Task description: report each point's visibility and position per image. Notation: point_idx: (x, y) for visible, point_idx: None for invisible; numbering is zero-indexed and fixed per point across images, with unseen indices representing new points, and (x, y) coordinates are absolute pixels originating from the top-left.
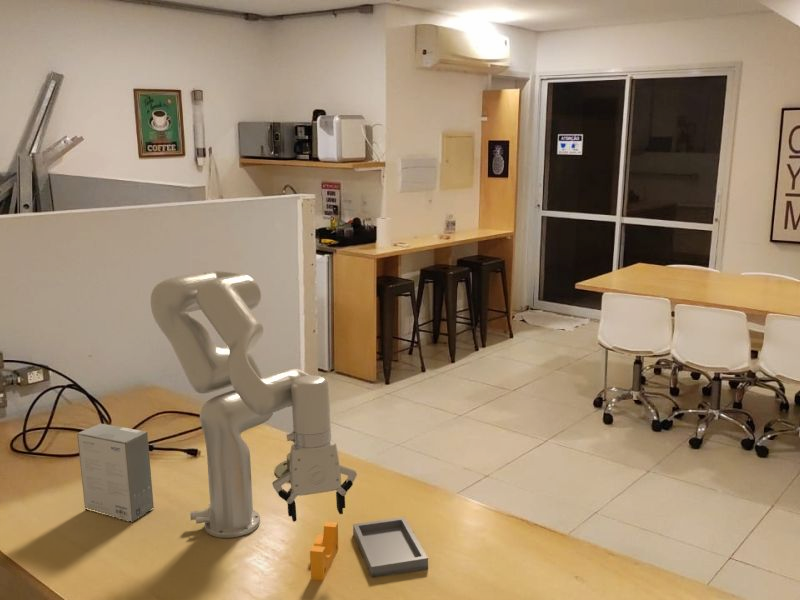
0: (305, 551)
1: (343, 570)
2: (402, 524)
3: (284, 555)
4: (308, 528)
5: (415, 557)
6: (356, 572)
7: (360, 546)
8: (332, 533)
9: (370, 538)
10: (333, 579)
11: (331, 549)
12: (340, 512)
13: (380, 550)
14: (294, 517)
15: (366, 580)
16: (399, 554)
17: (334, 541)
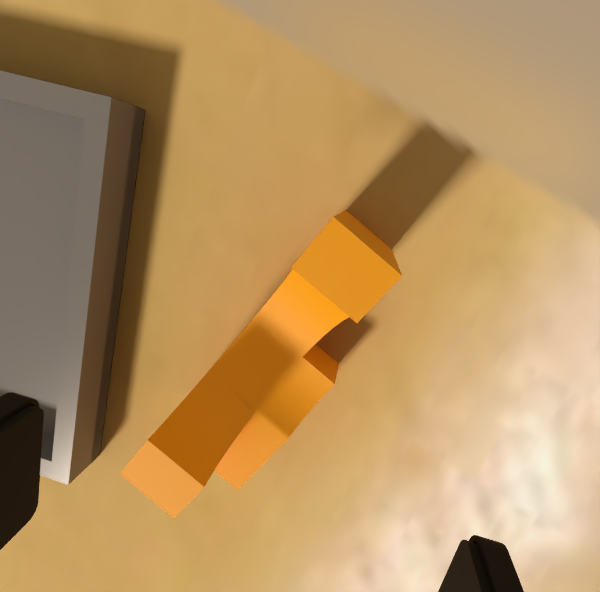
0: (319, 454)
1: (233, 235)
2: None
3: (411, 477)
4: (240, 587)
5: None
6: (188, 190)
7: (101, 335)
8: (182, 425)
9: (45, 377)
10: (301, 191)
11: (230, 355)
12: (18, 404)
13: (36, 271)
14: (502, 576)
15: (172, 104)
16: None
17: (195, 387)
